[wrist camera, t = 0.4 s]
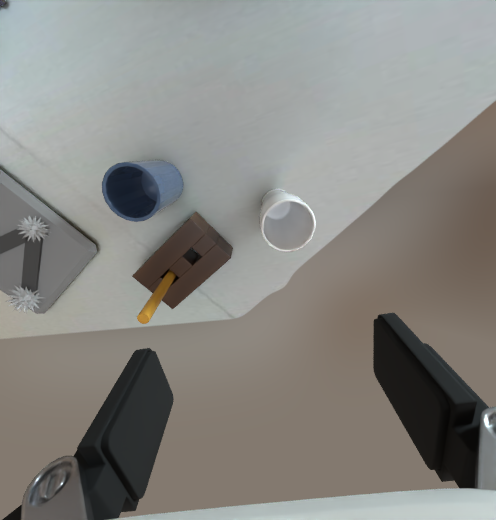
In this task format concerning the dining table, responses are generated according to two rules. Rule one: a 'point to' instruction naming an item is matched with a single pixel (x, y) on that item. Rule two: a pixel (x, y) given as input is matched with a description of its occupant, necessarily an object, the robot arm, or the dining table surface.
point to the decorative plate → (36, 249)
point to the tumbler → (141, 188)
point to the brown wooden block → (185, 260)
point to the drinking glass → (285, 221)
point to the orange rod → (156, 298)
